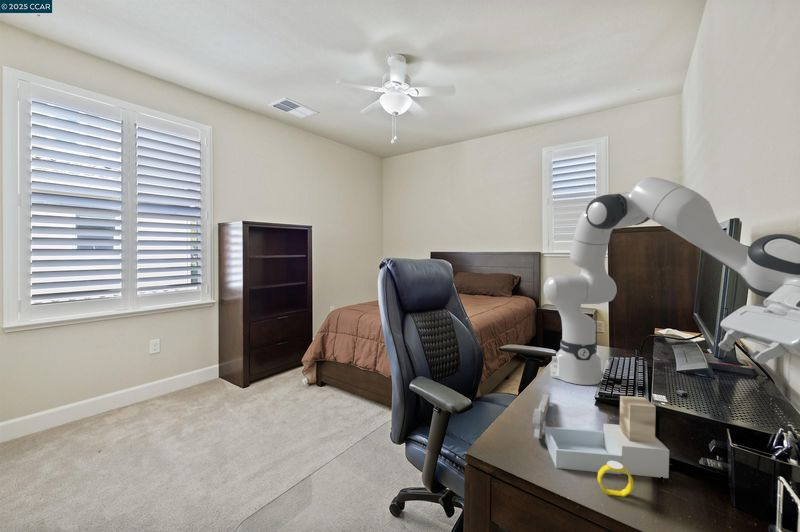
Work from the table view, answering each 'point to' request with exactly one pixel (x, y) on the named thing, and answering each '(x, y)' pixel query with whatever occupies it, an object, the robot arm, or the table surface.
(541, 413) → the wrench
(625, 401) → the block
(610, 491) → the watch
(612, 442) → the riser
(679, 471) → the table surface
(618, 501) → the table surface
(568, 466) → the tray
